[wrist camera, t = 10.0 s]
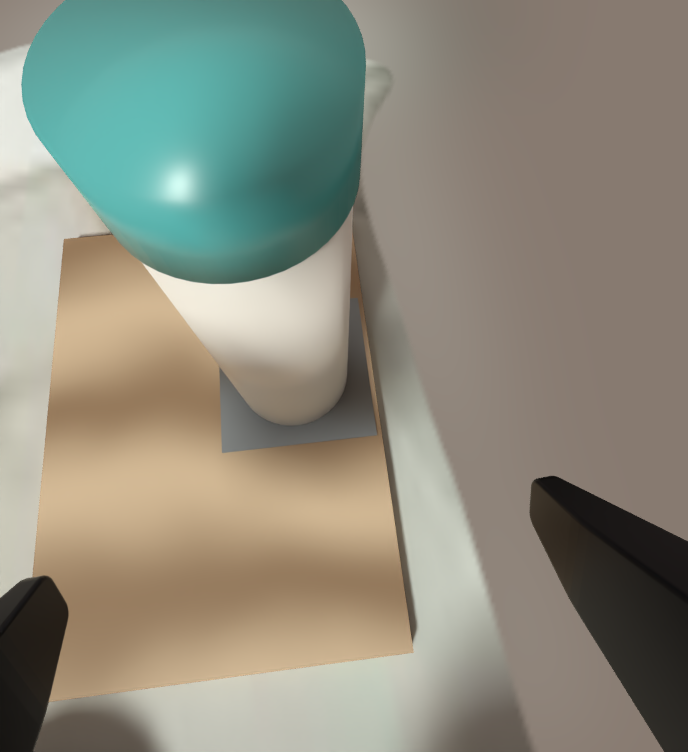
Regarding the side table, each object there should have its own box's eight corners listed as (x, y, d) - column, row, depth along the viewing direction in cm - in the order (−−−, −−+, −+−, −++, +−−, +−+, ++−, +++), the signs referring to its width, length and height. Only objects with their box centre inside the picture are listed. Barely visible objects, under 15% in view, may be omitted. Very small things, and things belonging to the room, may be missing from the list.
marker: (318, 447, 18) (264, 255, 5) (214, 398, 18) (-54, 119, 6) (367, 347, 19) (417, 4, 7) (269, 304, 19) (147, -84, 7)
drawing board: (411, 648, 16) (414, 653, 15) (32, 699, 15) (18, 706, 15) (349, 220, 22) (349, 210, 21) (71, 246, 21) (62, 237, 20)
